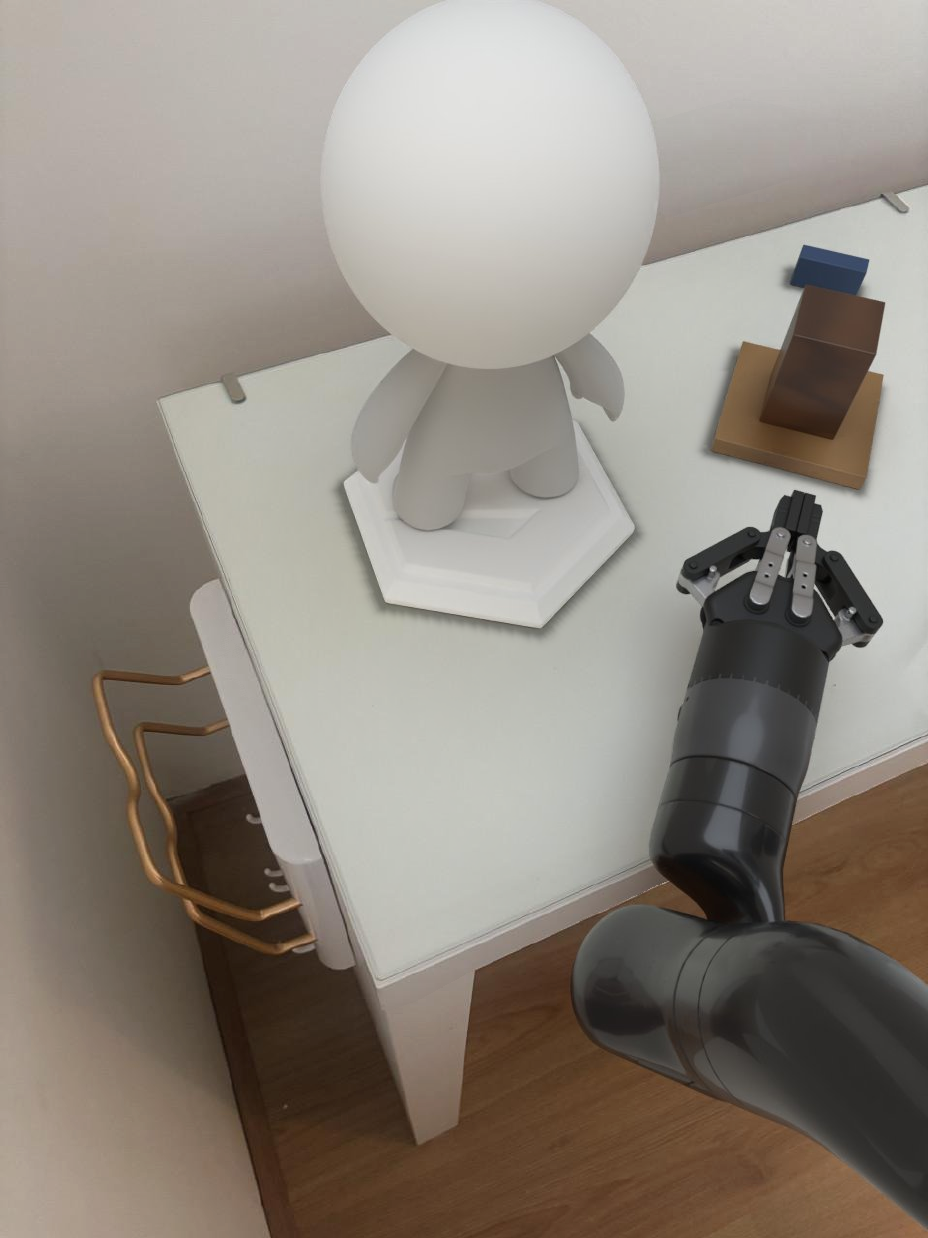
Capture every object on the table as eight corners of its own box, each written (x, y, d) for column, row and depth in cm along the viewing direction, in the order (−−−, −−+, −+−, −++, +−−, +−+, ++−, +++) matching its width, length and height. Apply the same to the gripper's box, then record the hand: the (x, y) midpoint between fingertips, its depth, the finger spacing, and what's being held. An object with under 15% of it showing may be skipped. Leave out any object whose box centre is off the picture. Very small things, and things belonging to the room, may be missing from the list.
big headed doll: (550, 380, 79) (605, -105, 49) (666, 591, 68) (828, 127, 38) (325, 436, 76) (238, -50, 46) (408, 668, 64) (362, 225, 34)
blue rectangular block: (857, 286, 86) (869, 258, 83) (854, 299, 85) (866, 272, 82) (793, 271, 87) (803, 243, 84) (789, 284, 86) (799, 256, 83)
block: (877, 387, 79) (930, 285, 70) (859, 489, 73) (915, 393, 64) (738, 353, 81) (773, 251, 72) (710, 450, 75) (744, 351, 66)
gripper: (889, 728, 49) (925, 491, 57) (648, 651, 51) (717, 435, 60) (840, 780, 55) (879, 560, 64) (628, 710, 58) (692, 506, 66)
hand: (800, 500), depth 62 cm, fingers closed
